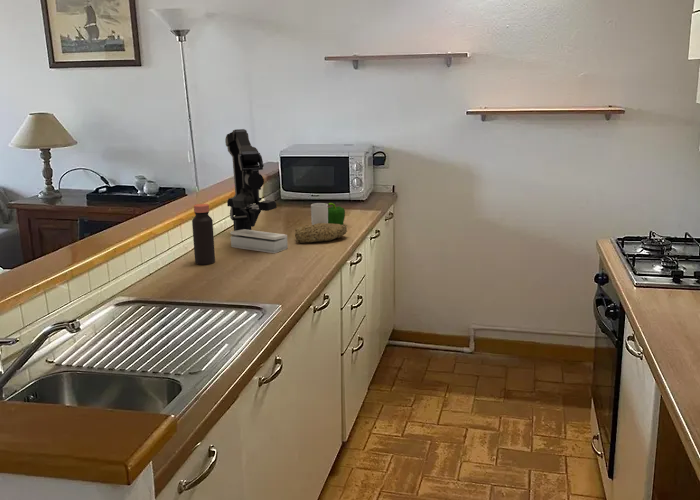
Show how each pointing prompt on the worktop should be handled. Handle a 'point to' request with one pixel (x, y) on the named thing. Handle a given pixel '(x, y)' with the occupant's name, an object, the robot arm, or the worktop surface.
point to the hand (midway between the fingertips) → (252, 226)
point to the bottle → (203, 235)
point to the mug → (319, 213)
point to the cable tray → (259, 243)
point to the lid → (259, 234)
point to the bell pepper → (336, 214)
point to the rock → (319, 232)
